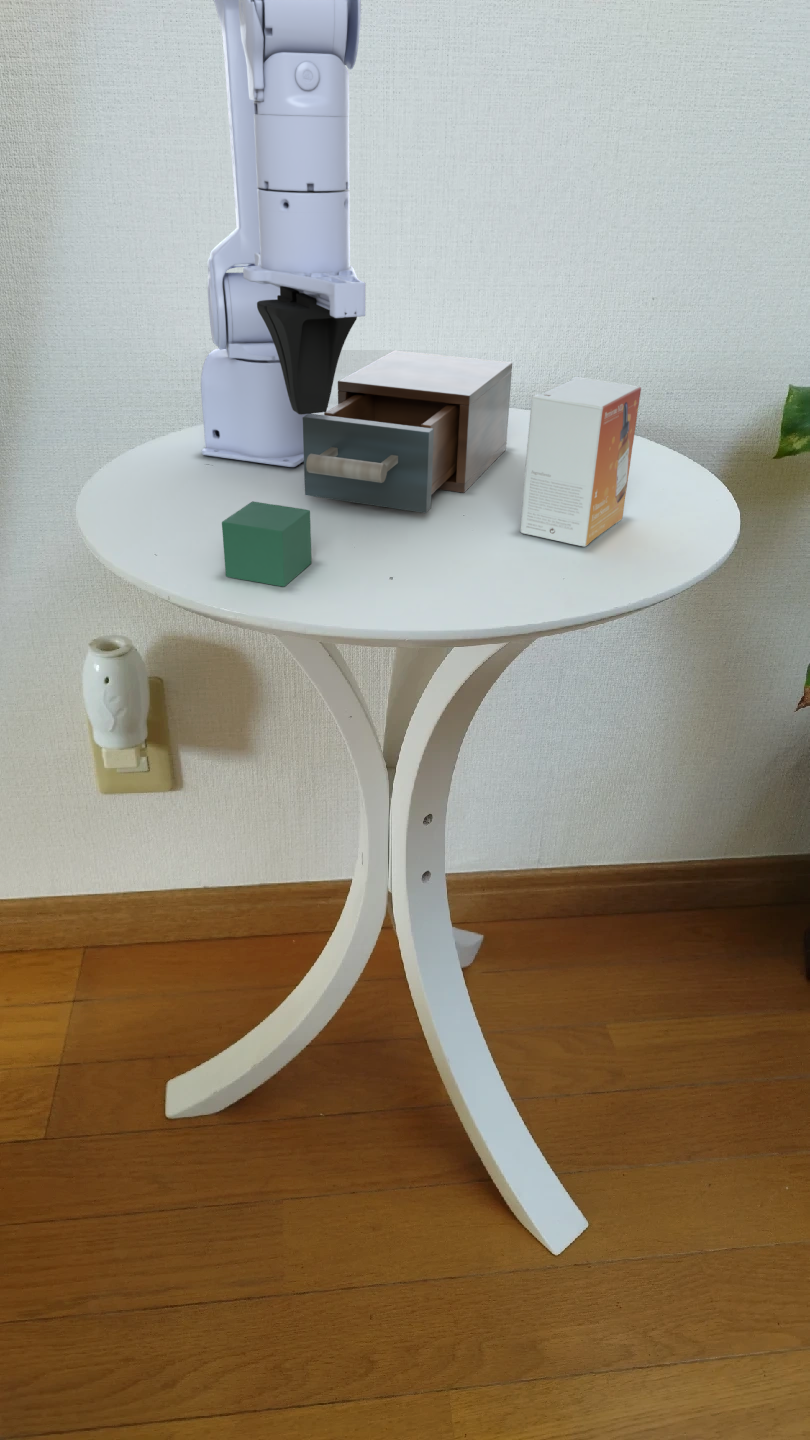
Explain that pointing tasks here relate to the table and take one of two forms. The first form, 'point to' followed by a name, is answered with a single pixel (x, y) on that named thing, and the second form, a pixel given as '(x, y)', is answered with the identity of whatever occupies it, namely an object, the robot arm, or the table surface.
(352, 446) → the drawer
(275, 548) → the green cube
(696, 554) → the table surface
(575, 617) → the table surface
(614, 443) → the small box
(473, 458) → the cabinet
